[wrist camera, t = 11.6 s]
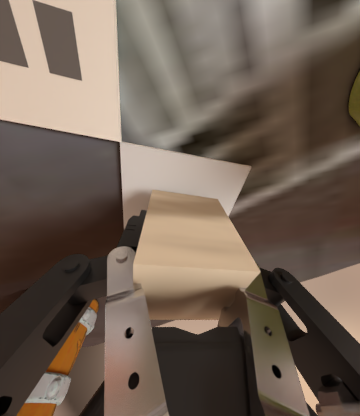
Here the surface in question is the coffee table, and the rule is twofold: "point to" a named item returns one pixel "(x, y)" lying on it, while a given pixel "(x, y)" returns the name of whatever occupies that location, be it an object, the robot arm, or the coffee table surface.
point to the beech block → (190, 258)
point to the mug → (59, 370)
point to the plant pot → (355, 100)
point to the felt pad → (176, 177)
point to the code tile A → (61, 66)
